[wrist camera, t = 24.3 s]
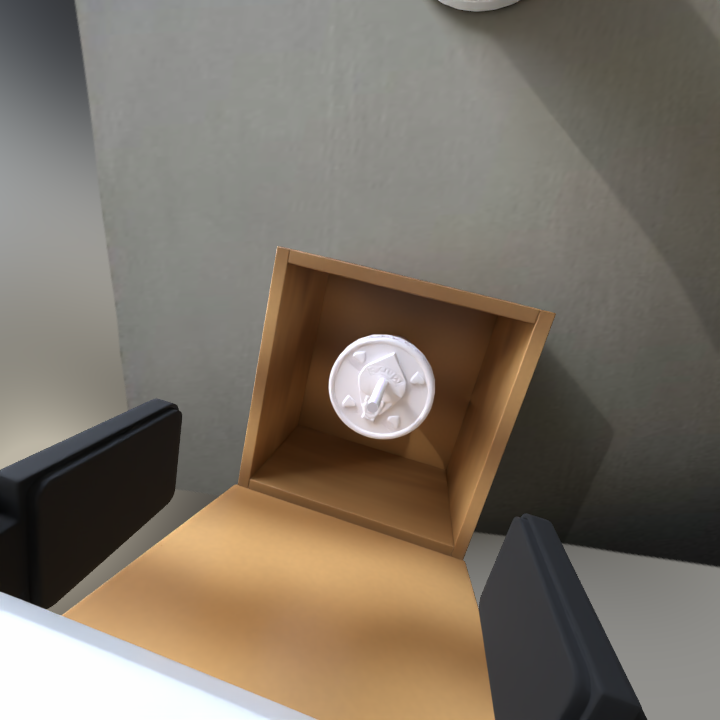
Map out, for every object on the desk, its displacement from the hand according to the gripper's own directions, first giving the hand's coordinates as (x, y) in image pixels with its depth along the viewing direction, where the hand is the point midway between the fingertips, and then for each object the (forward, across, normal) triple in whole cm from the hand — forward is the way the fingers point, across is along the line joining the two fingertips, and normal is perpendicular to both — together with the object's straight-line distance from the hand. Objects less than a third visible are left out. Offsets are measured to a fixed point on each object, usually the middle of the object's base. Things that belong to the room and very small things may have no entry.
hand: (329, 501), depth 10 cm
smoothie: (+22, 0, +1) cm, 22 cm away
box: (+22, 0, +2) cm, 22 cm away
